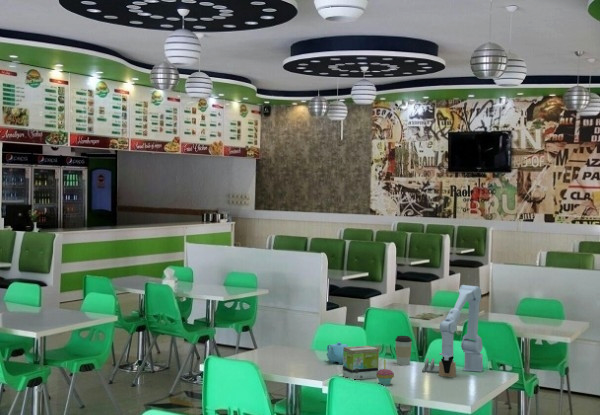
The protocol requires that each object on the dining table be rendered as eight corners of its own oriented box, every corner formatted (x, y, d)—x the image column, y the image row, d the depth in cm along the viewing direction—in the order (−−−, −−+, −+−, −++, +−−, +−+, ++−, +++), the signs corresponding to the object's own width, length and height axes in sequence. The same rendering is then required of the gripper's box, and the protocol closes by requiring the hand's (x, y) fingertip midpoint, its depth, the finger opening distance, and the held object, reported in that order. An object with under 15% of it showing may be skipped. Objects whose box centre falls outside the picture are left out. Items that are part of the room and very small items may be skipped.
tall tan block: (455, 376, 389) (455, 362, 389) (455, 376, 387) (455, 362, 387) (439, 375, 391) (439, 361, 391) (439, 375, 390) (439, 361, 390)
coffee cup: (411, 362, 422) (411, 334, 422) (412, 365, 413) (412, 337, 413) (394, 361, 422) (394, 334, 422) (394, 365, 413) (395, 337, 413)
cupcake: (374, 382, 374) (375, 357, 374) (392, 382, 374) (392, 357, 374) (377, 386, 365) (378, 360, 365) (395, 386, 366) (396, 360, 366)
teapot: (348, 361, 426) (348, 340, 427) (353, 365, 412) (353, 343, 413) (325, 361, 424) (325, 340, 425) (330, 365, 410) (330, 344, 411)
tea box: (352, 380, 376) (353, 350, 376) (342, 376, 385) (342, 346, 385) (378, 378, 383) (379, 348, 383) (367, 373, 392) (368, 344, 392)
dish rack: (455, 368, 406) (455, 359, 406) (453, 374, 393) (454, 364, 393) (424, 366, 411) (425, 357, 411) (422, 372, 397) (422, 362, 397)
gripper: (440, 342, 397) (440, 368, 397) (438, 347, 383) (437, 374, 383) (454, 342, 395) (454, 369, 396) (452, 347, 381) (452, 375, 382)
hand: (447, 372), depth 389 cm, fingers open, 5 cm apart
